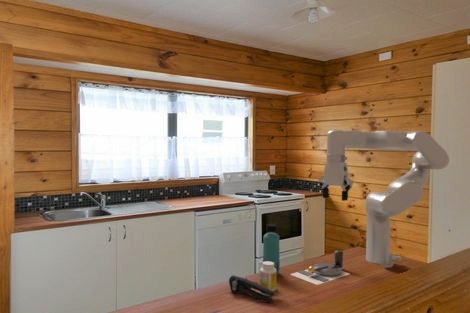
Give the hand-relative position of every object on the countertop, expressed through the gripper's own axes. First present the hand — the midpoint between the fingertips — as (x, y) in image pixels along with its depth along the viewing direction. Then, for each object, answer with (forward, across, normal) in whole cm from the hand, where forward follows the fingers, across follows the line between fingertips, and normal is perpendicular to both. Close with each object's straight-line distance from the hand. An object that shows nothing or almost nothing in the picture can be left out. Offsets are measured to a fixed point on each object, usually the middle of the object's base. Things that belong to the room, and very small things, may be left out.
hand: (334, 199), depth 149 cm
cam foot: (+27, -7, +14) cm, 31 cm away
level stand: (+28, -7, +18) cm, 34 cm away
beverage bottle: (+28, +4, +33) cm, 44 cm away
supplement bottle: (+28, -6, +44) cm, 53 cm away
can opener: (+29, -5, +50) cm, 58 cm away
